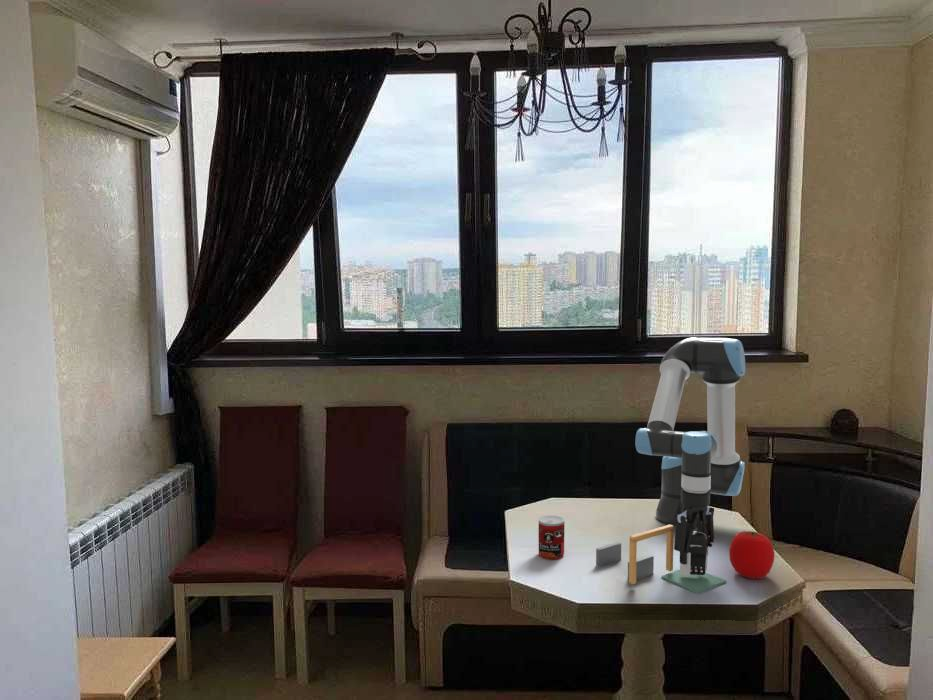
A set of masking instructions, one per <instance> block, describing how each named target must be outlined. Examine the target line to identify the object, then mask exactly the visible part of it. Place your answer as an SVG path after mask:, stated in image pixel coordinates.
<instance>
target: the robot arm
mask: <svg viewBox="0 0 933 700" xmlns="http://www.w3.org/2000/svg"><path fill="white" fill-rule="evenodd" d="M659 373H660V378H659V381H658V386H657V388H656V393H655V397H654V399H653V404H652V407H651V409H650V410H651V411H650V414H649V418H648V422H647V426H646V427H644V428H643V427H639V428H638V429H637V431H636V434H635V442H634V443H635V445H634V446H635V449H636V452H637V453H639V454H642V455H647V456H657V457H659V456H660V457H662V461H661V467H660V468H661V493H660V498H659V500H658V504H657V508H656V510H655V518H656V519H657V520H658V521H660V522H662V523H665V524H667V525H669V524H670V525H673V526H675V530H674V533H675V534H674V541H673V551H674V550H675V551H677V552H678V553H679V570H680V574H683V575H685V576H687V577H689V576H690V560H691V553H690V552H688V551H689V547H690V543H691V539H692V534H693V531H695V529H696V532H702V533H704V534H705V535H706V538H707V554H706V571H708V557H709V548H712V546H713V543H714V542H715V531H714V530H715V529H714V527H715V526H714V513H715V507H711V506H710V505H711V494H713V495H720V496H724V497H725V496H728V497H729V496H730V497H731V496H733V497H736V496H739V494H740V493H741V491H742V483H743V480H744V479H743V478H744V472H745V465H746V464H745V462H744V461H742V460H741V457H740V454H739V453H737V452H736V384H738V383H739V382H740V381H741V377H742V376H745V374H746V357H745V350H744V346H743V343H742V341H741V340H739V339H736V338H728V337H687V338H685V339H682V340H680V341H678V342H677V343H675V344H674V345H673V346H671V347H670V348H669V349H668V350H667V351H666V352H665V354H664V356H663V358H662V360H661V361H660V365H659ZM691 374H696V375H697V374H700V375H701V380H702V381H703V383H705V384H706V399H707V400H706V401H707V402H706V406H707V407H706V408H707V409H706V411H707V413H706V415H707V416H706V419H707V424H706V425H707V431H706V430H699V431H697V430H696V431H695V430H694V431H692V430H691V431H678V430H674V429H675V425H676V420H677V418H678V417H677V416H678V412H679V408H680V404H681V401H682V400H681V399H682V395H683V392H684V386H685V382H686V380H688V379H689V377H690V376H691ZM684 547H685V548H684Z"/></svg>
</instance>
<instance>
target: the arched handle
mask: <svg viewBox="0 0 933 700" xmlns="http://www.w3.org/2000/svg"><path fill="white" fill-rule="evenodd" d="M674 528H675V525H673V524H667V525H663V526H659V527H656V528H653V529H649V530H645V531H642V532H639V533H635V534H631V535H629V553H628V555H629V556H628V557H629V559H628V560H629V561H628V562H629V580H628V583H629V584H631V585H634V584H637V579H636V559H637V551H638V550H637V547H638V542H642V541H644V540H646V539H647V540H648V539H650V538H653V537H656V536H659V535H664V534H666V547H665V549H666V550H665V552H666V553H665V554H666V555H665V557H666V558H665V570H666V571H668V572H674V540H675V534H674V533H675V530H674Z"/></svg>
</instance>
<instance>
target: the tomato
mask: <svg viewBox="0 0 933 700" xmlns="http://www.w3.org/2000/svg"><path fill="white" fill-rule="evenodd" d="M728 551H729V552H728V554H729V561H730V563H731V565H732V568H733V570H734V571H735V572H736V573H737V574H739V575H741V576H743V577H745V578H748V579H753V580H754V579H755V580H756V579H763V578H765V577H766V576H767V575H768V574H769V573H770V571H771V570H772V567H773V564H774V562H775V549H774V547H773V544H772V542H771V541H770V539H769V538H768V537H767V536H765V535H764V534H762V533H760V532H757V531H745V530H743V531H740V532H738V533H737V534H735V535H734V536H733V538H732V540H731V542H730V546H729V550H728Z"/></svg>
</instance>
